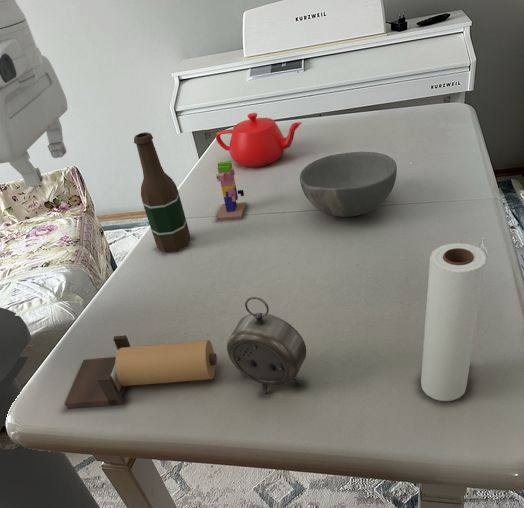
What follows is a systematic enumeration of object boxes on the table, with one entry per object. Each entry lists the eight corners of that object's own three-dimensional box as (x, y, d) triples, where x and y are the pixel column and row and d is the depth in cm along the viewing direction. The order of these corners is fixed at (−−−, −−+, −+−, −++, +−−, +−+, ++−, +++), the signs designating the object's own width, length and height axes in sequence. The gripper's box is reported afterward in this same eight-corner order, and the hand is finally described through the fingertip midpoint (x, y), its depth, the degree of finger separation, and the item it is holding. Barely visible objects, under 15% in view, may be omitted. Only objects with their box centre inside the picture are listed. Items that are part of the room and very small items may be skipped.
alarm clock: (311, 378, 77) (300, 290, 67) (298, 404, 74) (284, 315, 63) (246, 365, 82) (226, 280, 71) (231, 389, 78) (208, 303, 68)
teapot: (211, 172, 143) (201, 127, 135) (229, 149, 153) (221, 106, 145) (298, 170, 135) (293, 122, 127) (312, 146, 145) (308, 101, 138)
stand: (67, 408, 81) (52, 383, 77) (86, 364, 88) (73, 339, 84) (122, 404, 79) (109, 379, 76) (136, 360, 87) (126, 335, 83)
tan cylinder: (114, 398, 80) (100, 370, 76) (125, 364, 86) (113, 337, 82) (217, 390, 78) (208, 361, 74) (221, 356, 84) (214, 328, 80)
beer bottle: (169, 233, 119) (137, 127, 103) (198, 237, 116) (169, 127, 100) (150, 251, 114) (114, 142, 99) (179, 255, 111) (146, 143, 95)
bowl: (414, 200, 114) (416, 155, 107) (361, 243, 104) (360, 196, 97) (339, 183, 125) (336, 142, 119) (285, 221, 115) (279, 178, 109)
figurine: (223, 206, 126) (212, 157, 118) (245, 204, 125) (236, 155, 117) (217, 220, 121) (206, 170, 113) (241, 218, 119) (231, 168, 112)
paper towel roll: (429, 406, 70) (441, 274, 56) (414, 375, 75) (423, 246, 61) (481, 396, 70) (507, 262, 56) (464, 366, 75) (484, 235, 61)
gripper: (10, 40, 69) (53, 144, 78) (-69, 84, 54) (-5, 206, 63) (54, 33, 69) (92, 138, 78) (-13, 74, 53) (44, 199, 62)
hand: (48, 169), depth 70 cm, fingers open, 8 cm apart
